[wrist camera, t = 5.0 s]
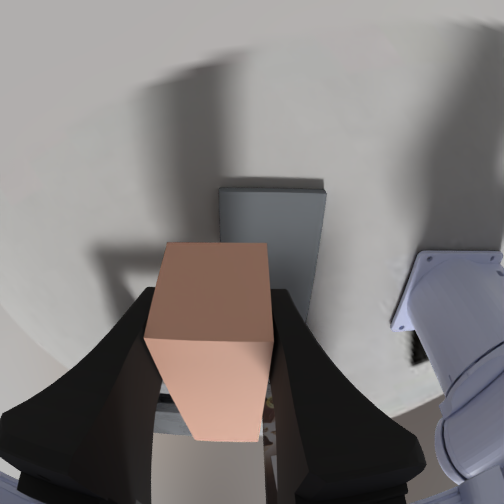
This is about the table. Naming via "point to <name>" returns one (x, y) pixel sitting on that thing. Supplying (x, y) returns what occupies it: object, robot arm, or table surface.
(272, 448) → the coffee box
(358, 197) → the table surface
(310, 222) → the pad
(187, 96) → the table surface
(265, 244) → the salmon rectangular block
